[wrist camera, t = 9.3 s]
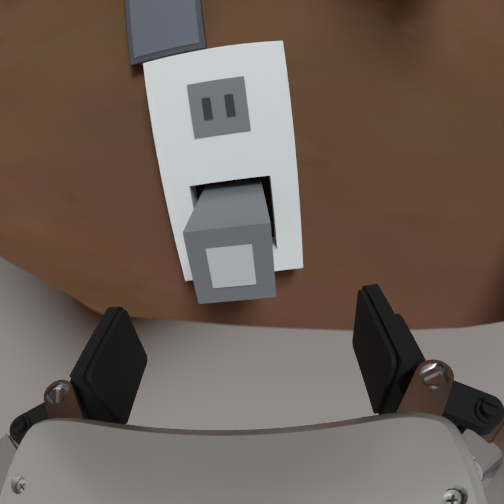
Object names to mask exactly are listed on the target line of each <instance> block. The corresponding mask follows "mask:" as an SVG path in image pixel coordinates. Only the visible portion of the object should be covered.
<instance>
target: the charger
mask: <svg viewBox="0 0 504 504" xmlns="http://www.w3.org/2000/svg"><path fill="white" fill-rule="evenodd" d="M183 237H184V242H185V246H186V251H187V256H188V260H189V265H190V269H191V273H192V278H193V282H194V286H195V291H196V295H197V299H198V303H199V304H203V303H216V302H228V301H239V300H250V299H260V298H270V297H276V285H275V272H274V259H273V246H272V234H271V223H270V218H269V213H268V209H267V204H266V200H265V195H264V191H263V187H262V182H261V179H253V180H244V181H235V182H226V183H218V184H210V185H206V186H205V188H204V190H203V192H202V194H201V196H200V198H199V200H198V202H197V204H196V206H195V208H194V210H193V212H192V214H191V216H190V218H189V220H188V222H187V224H186V226H185V229H184V231H183Z"/></svg>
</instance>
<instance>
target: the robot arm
mask: <svg viewBox="0 0 504 504" xmlns="http://www.w3.org/2000/svg"><path fill="white" fill-rule="evenodd" d="M353 348H354V352H355V355H356V358H357V361H358V364H359V367H360V370H361V373H362V376H363V379H364V382H365V386H366V389H367V392H368V395H369V398H370V402H371V405H372V409H373V412H374V413H375V414H376V413H378V414H379V415H375V416H368V417H362V418H356V419H350V420H344V421H337V422H331V423H322V424H315V425H306V426H297V427H286V428H273V429H257V430H223V431H222V430H183V429H166V428H153V427H143V426H134V425H125V424H126V423H127V422H128V419H129V416H130V412H131V409H132V406H133V402H134V400H135V397H136V394H137V390H138V388H139V385H140V382H141V379H142V375H143V373H144V370H145V367H146V364H147V355H146V353H145V351H144V348H143V346H142V344H141V342H140V340H139V337H138V335H137V333H136V331H135V329H134V326H133V324H132V322H131V320H130V317H129V315H128V312H127V311H126V310H124V309H123V308H122V307H109V308H108V309H107V310H106V312H105V314H104V315H103V317H102V319H101V320H100V322H99V324H98V325H97V327H96V329H95V331H94V333H93V334H92V336H91V338H90V339H89V341H88V343H87V345H86V347H85V349H84V350H83V352H82V354H81V356H80V357H79V359H78V361H77V363H76V365H75V367H74V369H73V370H72V372H71V375H70V377H71V380H70V382H68V381H66V380H58V381H55V382H53V383H52V384H50V386H49V387H47V389H46V391H45V393H44V403H42V404H40V405H39V406H37V407H35V408H33V409H31V410H29V411H27V412H26V413H24V414H22V415H20V416H18V417H17V418H16V419H15V420H14V421H13V422H12V424H11V426H10V435H8V434H6V435H5V436H4V437H2V438H1V439H0V504H504V407H503V405H502V403H501V401H500V400H499V399H498V398H497V397H495V396H493V395H490V394H488V393H485V392H482V391H480V390H477V389H474V388H472V387H469V386H467V385H464V384H462V383H459V382H456V381H454V380H453V379H454V375H453V371H452V370H451V368H450V367H449V366H448V365H447V364H446V363H444V362H442V361H439V360H427V361H426V360H425V358H424V356H423V354H422V353H421V350H420V349H419V347H418V345H417V343H416V341H415V339H414V337H413V336H412V334H411V332H410V330H409V328H408V326H407V325H406V323H405V321H404V319H403V318H402V316H401V315H400V314H394V312H393V310H392V308H391V306H390V305H389V303H388V301H387V299H386V298H385V296H384V294H383V292H382V291H381V289H380V287H379V286H378V284H373V285H366V286H363V287H362V290H359V291H358V296H357V306H356V316H355V325H354V333H353ZM472 455H473V456H474V457H476V458H475V459H473V456H472ZM474 460H475V461H476V462H477V463H478V464H479V465H480V466H481V467H482V470H483V478H482V480H481V479H480V476H479V473H478V470H477V467H476V464H475V461H474Z"/></svg>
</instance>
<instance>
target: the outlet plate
mask: <svg viewBox="0 0 504 504" xmlns="http://www.w3.org/2000/svg"><path fill="white" fill-rule="evenodd" d="M143 68H144V76H145V84H146V91H147V98H148V105H149V111H150V118H151V124H152V130H153V136H154V141H155V147H156V152H157V158H158V163H159V168H160V173H161V178H162V183H163V188H164V193H165V198H166V202H167V207H168V212H169V216H170V221H171V225H172V229H173V233H174V238H175V242H176V246H177V250H178V254H179V258H180V262H181V266H182V270H183V274H184V278H185V281H189V280H193V278H192V273H191V269H190V265H189V260H188V256H187V251H186V246H185V242H184V237H183V231H184V229H185V226H186V224H187V222H188V220H189V218H190V216H191V214H192V212H193V210H194V208H195V206H196V204H197V202H198V196H197V191H196V185H201V184H208V183H214V182H222V181H229V180H237V179H245V178H253V177H262V176H269V185H270V194H271V204H272V214H273V224H274V234H275V237H272V246H273V259H274V271H280V270H289V269H297V268H303V255H302V235H301V218H300V202H299V188H298V175H297V163H296V152H295V141H294V130H293V120H292V111H291V102H290V93H289V85H288V76H287V69H286V61H285V54H284V46H283V41H270V42H258V43H247V44H238V45H230V46H223V47H216V48H210V49H204V50H199V51H193V52H188V53H183V54H179V55H174V56H170V57H165V58H161V59H157V60H153V61H149V62H146V63H143Z"/></svg>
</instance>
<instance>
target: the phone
mask: <svg viewBox="0 0 504 504" xmlns="http://www.w3.org/2000/svg"><path fill="white" fill-rule="evenodd" d="M125 9H126V23H127V35H128V46H129V55H130V64H131V65H132V66H138V65H141V64H143V63H146V62H149V61H153V60H157V59H161V58H165V57H170V56H174V55H179V54H183V53H188V52H193V51H199V50H204V49H207V45H206V37H205V29H204V21H203V13H202V5H201V0H125Z"/></svg>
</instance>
